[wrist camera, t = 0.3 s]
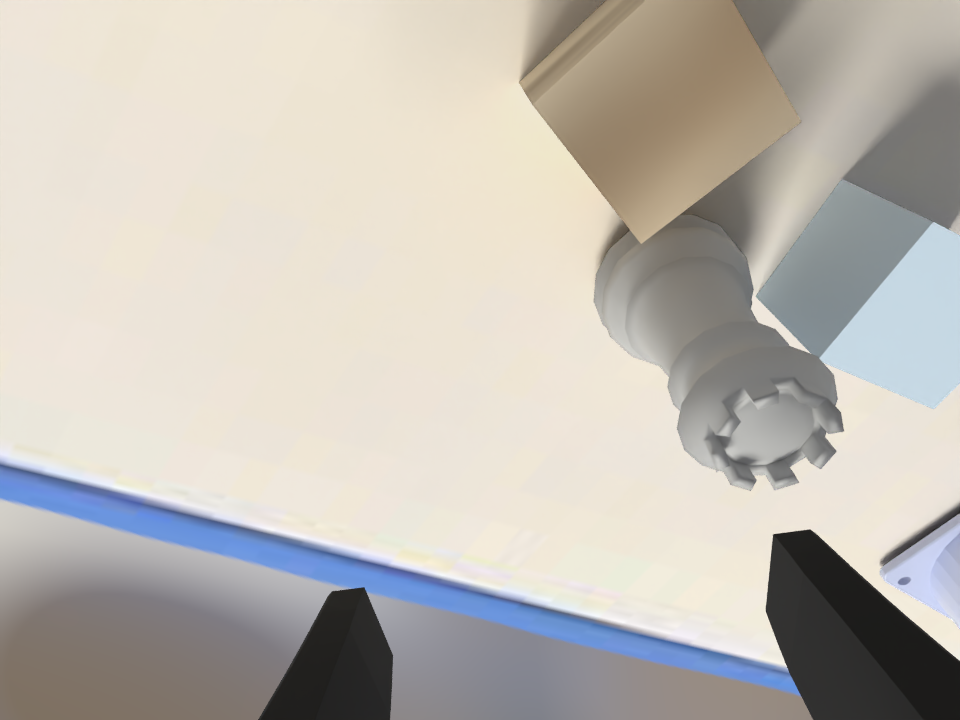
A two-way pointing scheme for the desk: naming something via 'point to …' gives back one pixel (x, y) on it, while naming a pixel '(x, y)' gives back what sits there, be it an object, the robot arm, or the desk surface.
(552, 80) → the beech block
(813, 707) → the robot arm
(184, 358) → the desk surface
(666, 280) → the rook chess piece
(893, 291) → the pale blue block
